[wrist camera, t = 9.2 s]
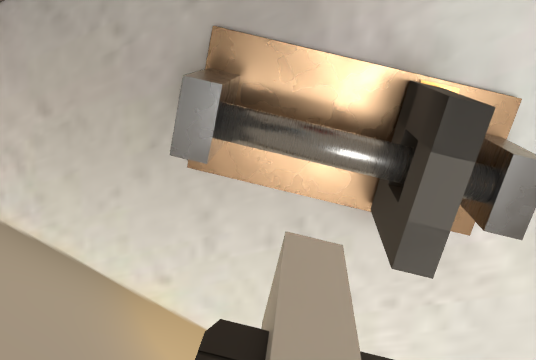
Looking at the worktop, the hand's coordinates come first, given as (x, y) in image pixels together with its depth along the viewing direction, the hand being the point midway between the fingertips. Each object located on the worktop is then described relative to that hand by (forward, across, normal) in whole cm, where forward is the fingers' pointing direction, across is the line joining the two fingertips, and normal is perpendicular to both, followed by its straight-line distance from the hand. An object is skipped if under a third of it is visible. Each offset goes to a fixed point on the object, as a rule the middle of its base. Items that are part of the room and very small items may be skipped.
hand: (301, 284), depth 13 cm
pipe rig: (+26, +3, 0) cm, 26 cm away
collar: (+24, +8, 0) cm, 25 cm away
